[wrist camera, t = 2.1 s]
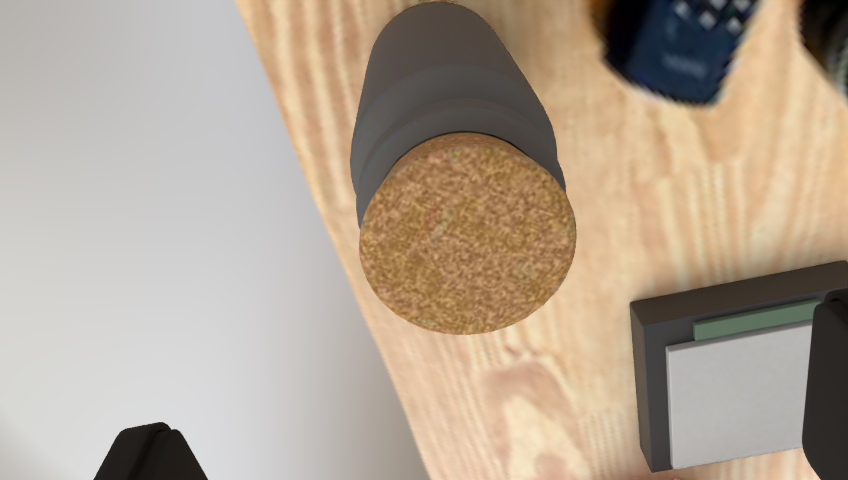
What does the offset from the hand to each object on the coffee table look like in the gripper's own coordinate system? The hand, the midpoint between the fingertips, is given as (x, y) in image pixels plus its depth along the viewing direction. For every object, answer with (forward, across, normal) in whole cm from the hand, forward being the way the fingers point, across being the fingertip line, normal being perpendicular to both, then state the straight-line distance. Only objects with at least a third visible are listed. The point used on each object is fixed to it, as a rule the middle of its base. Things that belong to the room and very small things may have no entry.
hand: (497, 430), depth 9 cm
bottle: (+20, 0, -1) cm, 20 cm away
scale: (+20, -13, +19) cm, 30 cm away
